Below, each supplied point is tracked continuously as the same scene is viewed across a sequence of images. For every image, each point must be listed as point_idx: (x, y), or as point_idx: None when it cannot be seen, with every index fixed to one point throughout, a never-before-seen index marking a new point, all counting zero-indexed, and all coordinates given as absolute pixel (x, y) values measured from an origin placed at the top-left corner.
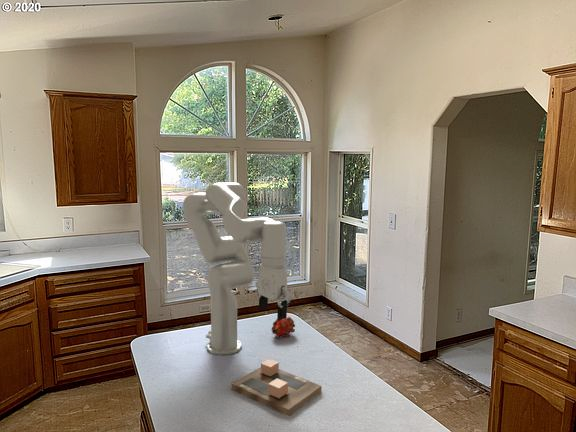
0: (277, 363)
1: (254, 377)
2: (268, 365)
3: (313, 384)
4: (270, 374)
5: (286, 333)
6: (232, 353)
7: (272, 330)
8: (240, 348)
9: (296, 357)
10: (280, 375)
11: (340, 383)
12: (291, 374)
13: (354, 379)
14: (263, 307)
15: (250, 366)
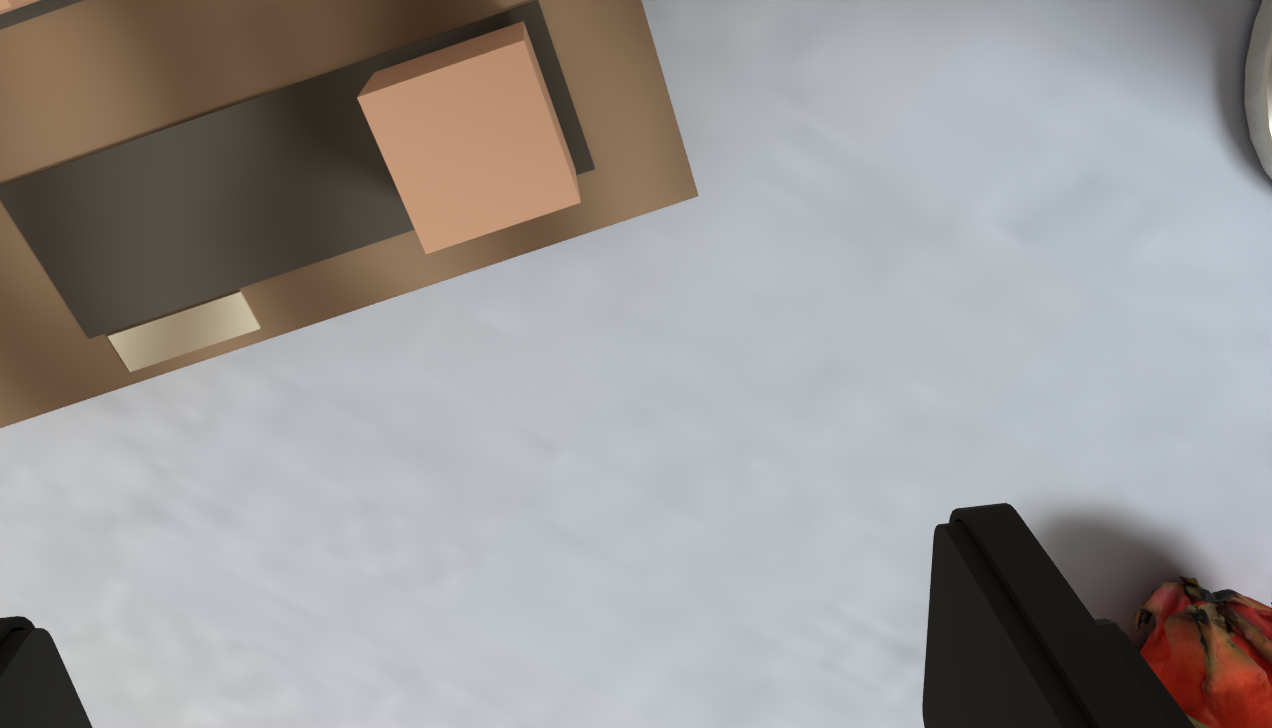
0: (416, 230)
1: None
2: (413, 98)
3: (34, 385)
4: (372, 78)
5: None
6: (1252, 33)
7: (1259, 608)
8: (1267, 168)
9: (731, 545)
10: (365, 194)
11: (98, 608)
12: (336, 308)
13: (116, 723)
14: (957, 658)
15: (861, 66)
